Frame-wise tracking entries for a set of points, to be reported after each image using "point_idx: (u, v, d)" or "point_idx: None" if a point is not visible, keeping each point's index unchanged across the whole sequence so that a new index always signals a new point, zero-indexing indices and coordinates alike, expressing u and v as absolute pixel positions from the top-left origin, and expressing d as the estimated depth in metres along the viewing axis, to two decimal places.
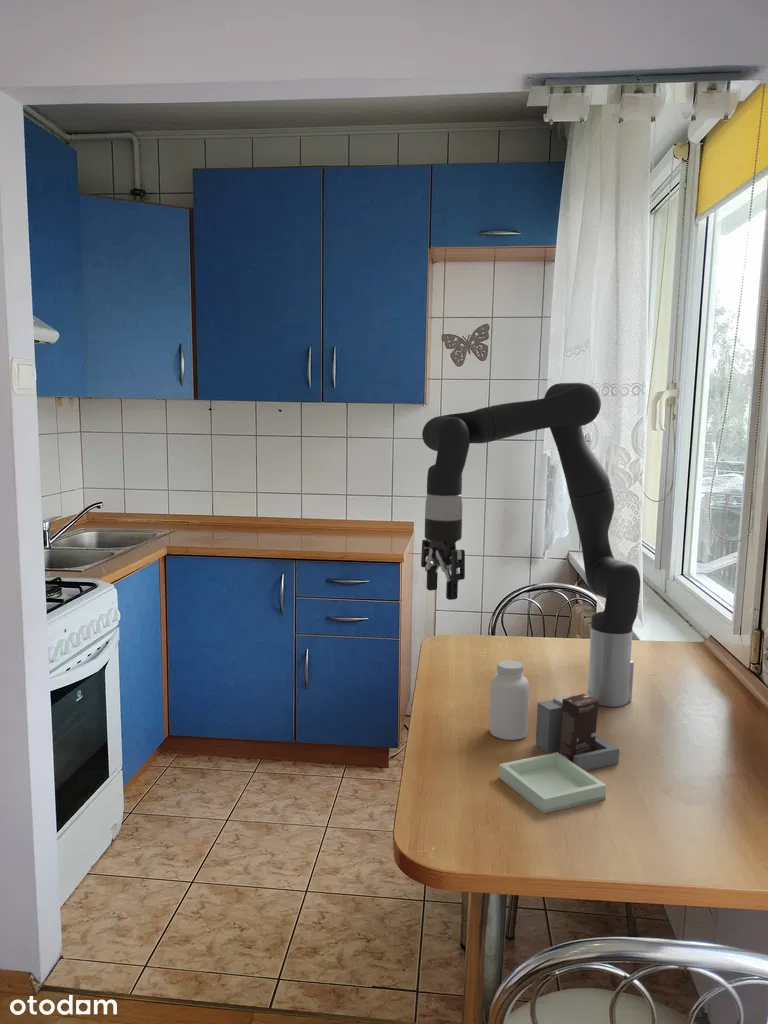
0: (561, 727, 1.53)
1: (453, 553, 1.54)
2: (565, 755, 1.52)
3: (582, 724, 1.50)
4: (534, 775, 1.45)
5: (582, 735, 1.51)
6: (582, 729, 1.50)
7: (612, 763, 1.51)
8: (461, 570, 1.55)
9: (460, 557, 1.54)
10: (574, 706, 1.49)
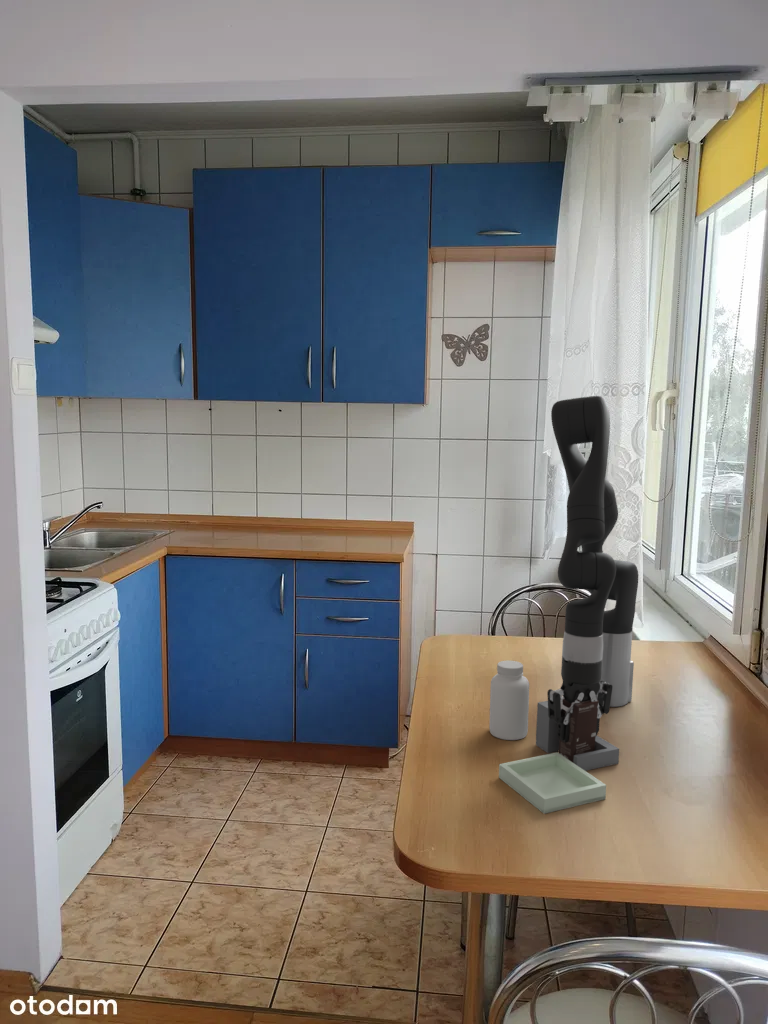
0: None
1: (611, 687, 1.53)
2: (565, 755, 1.52)
3: (582, 724, 1.50)
4: (534, 775, 1.45)
5: (582, 735, 1.51)
6: (582, 729, 1.50)
7: (612, 763, 1.51)
8: (601, 701, 1.55)
9: None
10: (574, 706, 1.49)
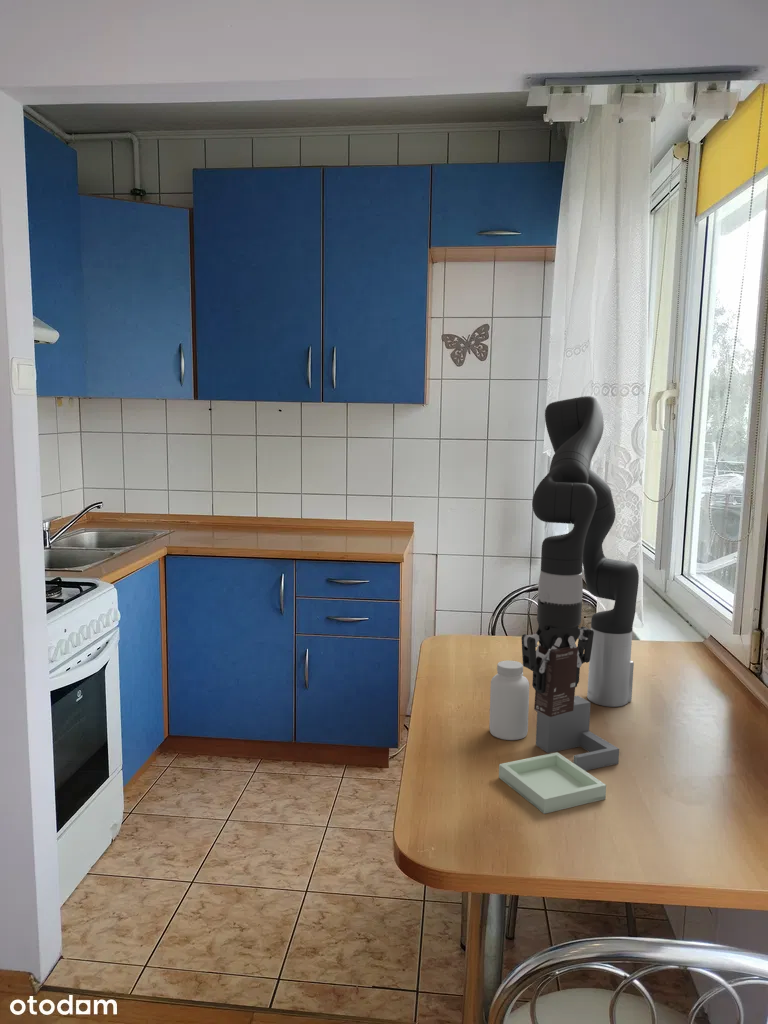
0: None
1: (592, 633, 1.39)
2: (541, 707, 1.38)
3: (560, 672, 1.36)
4: (534, 775, 1.45)
5: (560, 684, 1.36)
6: (560, 678, 1.36)
7: (612, 763, 1.51)
8: (581, 649, 1.41)
9: None
10: (551, 653, 1.35)
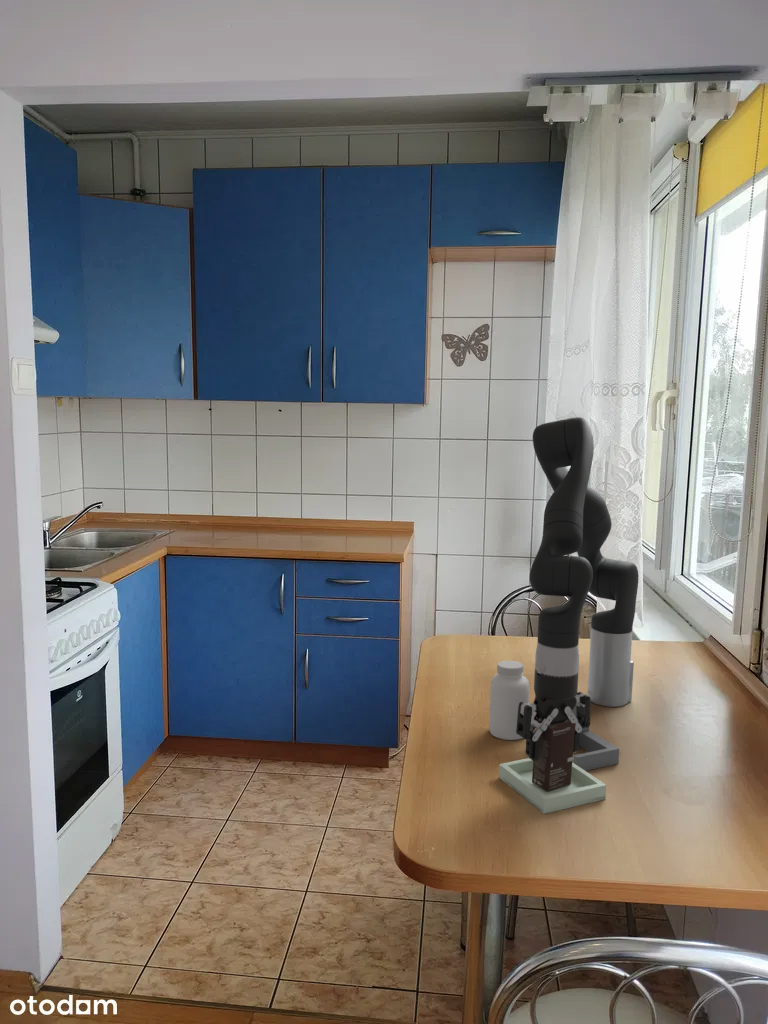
0: None
1: (589, 699, 1.41)
2: (539, 781, 1.40)
3: (557, 748, 1.38)
4: None
5: (557, 759, 1.38)
6: (557, 753, 1.38)
7: (612, 763, 1.51)
8: (581, 714, 1.43)
9: None
10: (548, 729, 1.37)
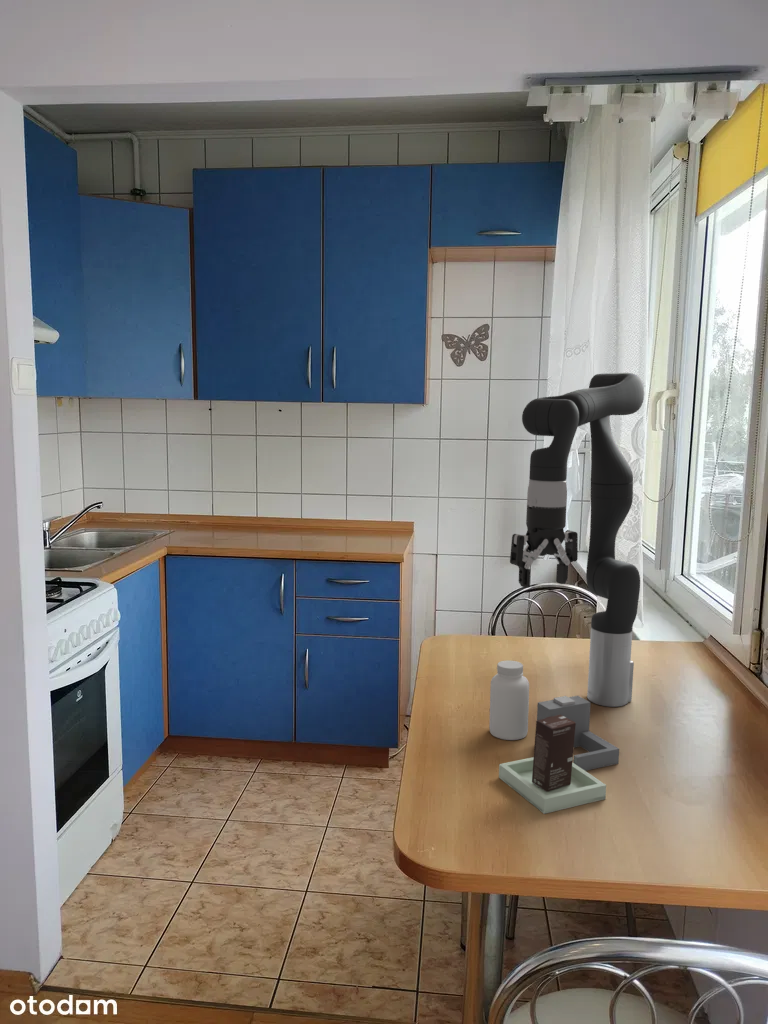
0: (535, 750, 1.41)
1: (576, 534, 1.55)
2: (539, 781, 1.40)
3: (557, 748, 1.38)
4: None
5: (557, 759, 1.38)
6: (557, 753, 1.38)
7: (612, 763, 1.51)
8: (569, 550, 1.57)
9: None
10: (548, 729, 1.37)
